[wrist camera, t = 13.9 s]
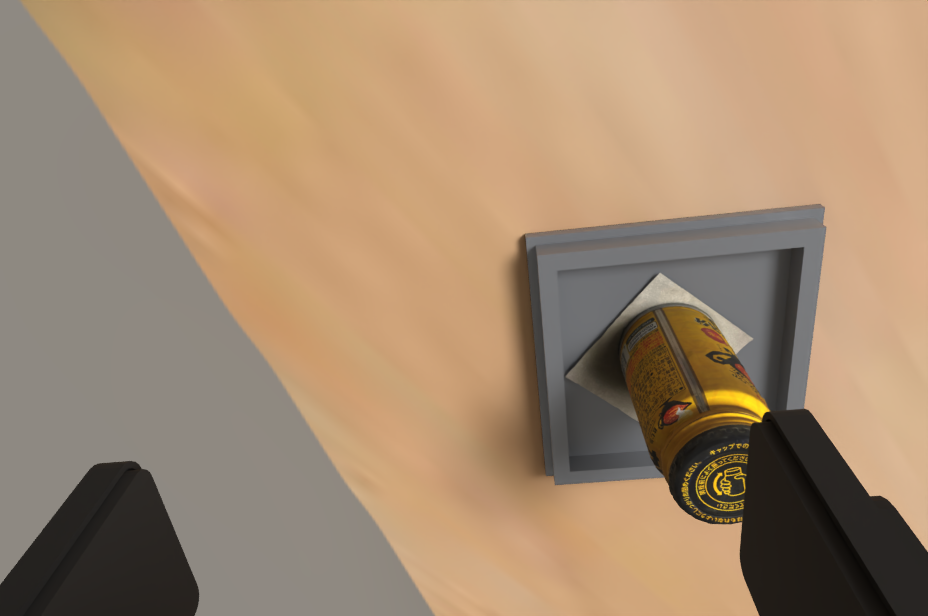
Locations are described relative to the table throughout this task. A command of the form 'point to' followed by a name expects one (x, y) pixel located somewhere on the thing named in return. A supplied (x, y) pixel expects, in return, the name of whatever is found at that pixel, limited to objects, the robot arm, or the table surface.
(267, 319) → the table surface
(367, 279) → the table surface
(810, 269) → the dock
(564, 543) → the table surface
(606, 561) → the table surface
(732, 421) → the condiment
